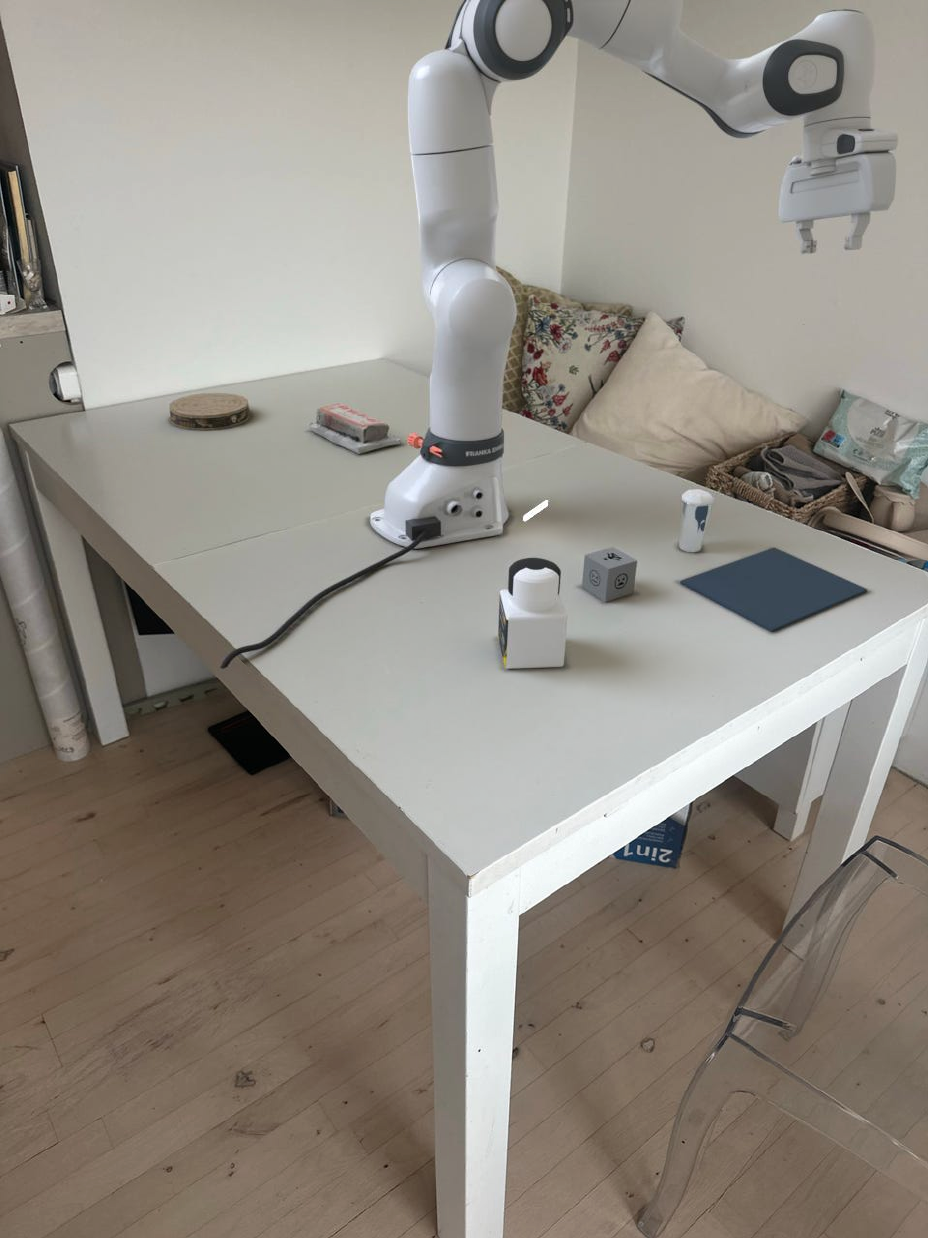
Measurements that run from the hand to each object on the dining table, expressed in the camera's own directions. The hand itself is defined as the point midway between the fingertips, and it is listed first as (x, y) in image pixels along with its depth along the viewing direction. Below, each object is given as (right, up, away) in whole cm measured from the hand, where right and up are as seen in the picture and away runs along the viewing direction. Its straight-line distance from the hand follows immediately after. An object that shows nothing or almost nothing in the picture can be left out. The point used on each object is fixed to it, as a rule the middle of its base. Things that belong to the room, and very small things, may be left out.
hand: (829, 251), depth 133 cm
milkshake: (-19, -43, +4) cm, 47 cm away
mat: (-11, -49, -7) cm, 51 cm away
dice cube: (-34, -50, -8) cm, 61 cm away
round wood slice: (-106, -12, +56) cm, 121 cm away
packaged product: (-75, -18, +46) cm, 90 cm away
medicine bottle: (-46, -58, -22) cm, 77 cm away
